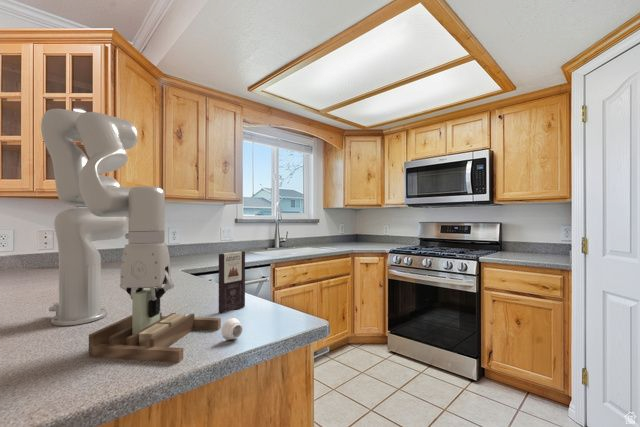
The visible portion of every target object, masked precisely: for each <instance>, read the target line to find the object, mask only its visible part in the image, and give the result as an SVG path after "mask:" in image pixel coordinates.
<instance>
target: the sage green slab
mask: <svg viewBox="0 0 640 427" xmlns="http://www.w3.org/2000/svg"><path fill="white" fill-rule="evenodd" d="M150 300H151V294H150V288H145V289H144V290H143V291H140V292H137V293H135V294H133V300H132V306H131V307H132V314H131V315H132V335H133V334H135V333H137V332H139V331H140V330H142V329H144V328H146V327H148V326H149V325H151V324H153V323H155V322H157V321H159V320H160V313H161V311H160V312H159V314H158V315H156V316H154V317H152V318H150V317H149V316H148V302H149V301H150Z"/></svg>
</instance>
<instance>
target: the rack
mask: <svg viewBox="0 0 640 427" xmlns="http://www.w3.org/2000/svg"><path fill="white" fill-rule="evenodd" d="M162 313H163V312H160V320H159V321H157V322H155V323H153V324H151V325H149V326H148V327H146V328H144V329H142V330H140V331H139V332H137V333H135V334H133V335H132V314H131V315H129V316H127V317H124V318H122V319H120V320H118V321H116V322H114V323H111V324H109V325H107V326H105V327H103V328H100V329H98V330H96V331H94V332H92V333H89V334H88V358H96V359H98V358H99V359H115V360H128V361H129V360H130V361H131V360H132V361H146V362H147V361H149V362H163V363H164V362H166V363H167V362H168V363H181V362H182V361H183V360H184V347H171V346H172V345H174V344H175V343H177V342H178V341H180V340H181V339H183V338H184V337H185V336H187V335H188V334H189V333H191V332H192V331H194V330H209V331H210V330H211V331H212V330H213V331H218V330H220V329H221V328H222V327H221V322H222V319H221V318H220V317H219V318H218V317H216V318H215V317H196V316H195V313H189V314H188V315H187V316H186V315H185V318H183V319H181V320H180V321H178V322H177V323H175V324H173V325H172V326H170V327H168V328H167V329H165V330H164V331H162V332H160V333H159V334H157V335H155V336H154V337H152V338H151V339H149V346H139V333H141V332H143V331H145V330H146V329H148V328H150V327H152V326H154V325H155V324H159V322H161V321H162V320H164V319H166V318H168V317H170V316H171V315H173V314H177V313H176V312H171V313H170V314H167V315H166V316H165V315H164V316H163V315H162Z"/></svg>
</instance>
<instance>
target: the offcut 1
mask: <svg viewBox="0 0 640 427" xmlns="http://www.w3.org/2000/svg"><path fill="white" fill-rule="evenodd" d="M168 327H169V324H155V325H154V326H152V327H150V328H148V329H146V330H145V331H143V332H141V333H139V346H149V339H151V338H152V337H154V336H155V335H157V334H159V333H160V332H162V331H164V330H165V329H167V328H168Z"/></svg>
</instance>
